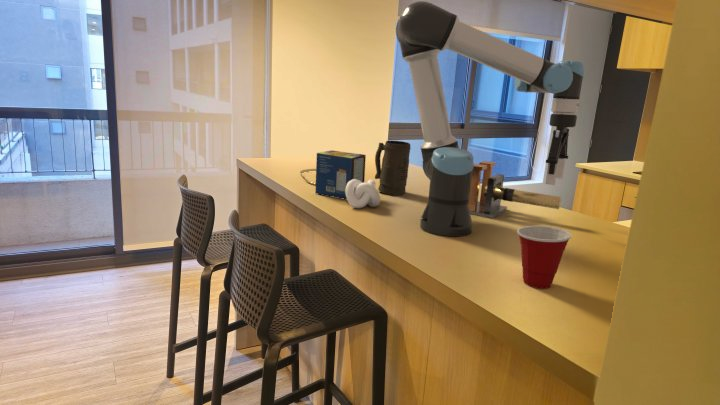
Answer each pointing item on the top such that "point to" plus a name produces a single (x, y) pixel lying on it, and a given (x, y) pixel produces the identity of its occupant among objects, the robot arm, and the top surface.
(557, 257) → the plastic cup
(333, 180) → the protein box
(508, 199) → the tube
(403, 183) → the beer stein
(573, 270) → the top surface
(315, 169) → the beaded necklace
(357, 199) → the white knot sculpture
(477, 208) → the wooden stand
